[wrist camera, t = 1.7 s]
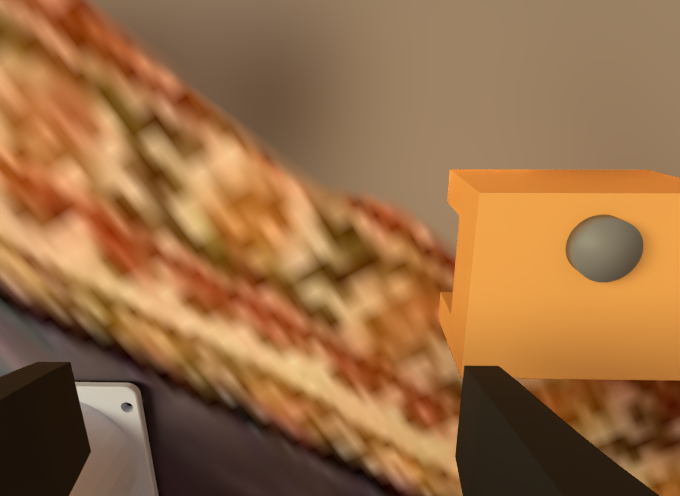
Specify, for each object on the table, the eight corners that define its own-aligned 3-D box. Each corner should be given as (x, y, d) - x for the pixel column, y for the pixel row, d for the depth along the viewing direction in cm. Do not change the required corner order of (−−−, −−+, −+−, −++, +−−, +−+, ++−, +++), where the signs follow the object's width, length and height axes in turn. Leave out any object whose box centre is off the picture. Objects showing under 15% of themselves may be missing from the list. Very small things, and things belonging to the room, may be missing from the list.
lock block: (614, 320, 18) (697, 392, 14) (438, 318, 18) (465, 389, 14) (647, 169, 16) (757, 198, 12) (449, 169, 16) (485, 197, 12)
